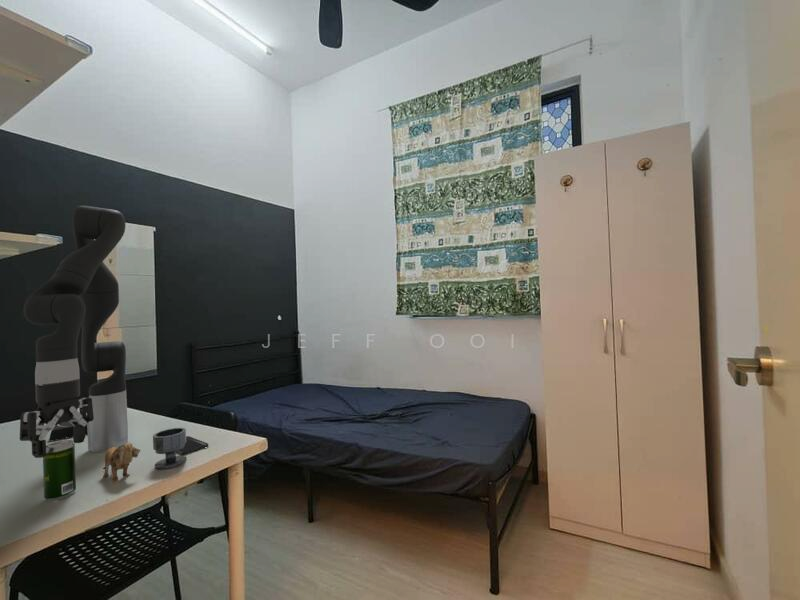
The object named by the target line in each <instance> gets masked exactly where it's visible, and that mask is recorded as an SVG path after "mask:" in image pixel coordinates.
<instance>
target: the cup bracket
mask: <svg viewBox="0 0 800 600" xmlns="http://www.w3.org/2000/svg"><path fill="white" fill-rule="evenodd" d="M186 436H187V429H186V428H184V427H174V428H168V429H167V428H166V429H164V430H160V431H158V432H155V433H154V434H153V436H152V444H153V445H152V447H153V450H154V451H155V454H157V455H164V456H165V457H164V458H162V459H161V460H158V461H157V462H156V463H155V464H154V469H155V470H157V471H159V470H160V471H162V470H163V471H164V470H169V469H174V468H177V467H180V466H181V465H183V463H184V464H185V463H186V462H187V461H186V460H187V455H177V453H176V451H178V450H181V449H182V448H184V447H185V443H186Z"/></svg>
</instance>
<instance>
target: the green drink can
mask: <svg viewBox="0 0 800 600" xmlns="http://www.w3.org/2000/svg"><path fill="white" fill-rule="evenodd" d="M75 448H76V447H75V443H74V442H73V440H72V439H67V440H65V439H63V440H60V441H55V442H52V443H49V444H46V456H45V457H42V471H43V476H42V477H43V498H44V500H45V501H46V502H58V501H60V500H64V499H66V498H68V497H71V496H72V495H74V493H76V490H77V481H76V480H77V478H76V477H77V476H76V451H75V450H76V449H75Z"/></svg>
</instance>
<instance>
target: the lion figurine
mask: <svg viewBox="0 0 800 600" xmlns="http://www.w3.org/2000/svg"><path fill="white" fill-rule="evenodd" d="M140 452H141V449H139V448H136V447H135V446H133V444H132V442H128V443H127V444H124V445H122V446H119V447H118V448H117V447H111V448H110V449H108V450H107V451H105V454H104V467H102V469H103V470H104V473H103V475H102V477H104V478H106V477H108V476H109V475H110V474H109V467H111V468H110V469H111V470H110V471H111V475H112V481H111V482H112V484H113V483H114V484H115V483H117V482H119V477H118V470H122V474H121V475H122V477H123V478H124V477H126V478H129V477H130V476H131V475H130V474H129V473H128V468H129V465H130V464H131V463H132V462H133V459H134V458H136V459H137V458H138V456H139V454H140ZM128 476H129V477H128Z"/></svg>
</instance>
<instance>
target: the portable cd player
mask: <svg viewBox="0 0 800 600" xmlns="http://www.w3.org/2000/svg"><path fill="white" fill-rule="evenodd" d="M73 428H74V426H73V425H72V424H71V423H70V422H63V423H61V424H58V425H54V427H53V429H52V430H50V436H49V437H48V438H49V441H51V440H54V441H56V440H55V439H59V440H62V439H61V438H64V439H67V438H66V437H69V438H73V437H72V436H73ZM85 435H88V432H87V424H86V426H85Z"/></svg>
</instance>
